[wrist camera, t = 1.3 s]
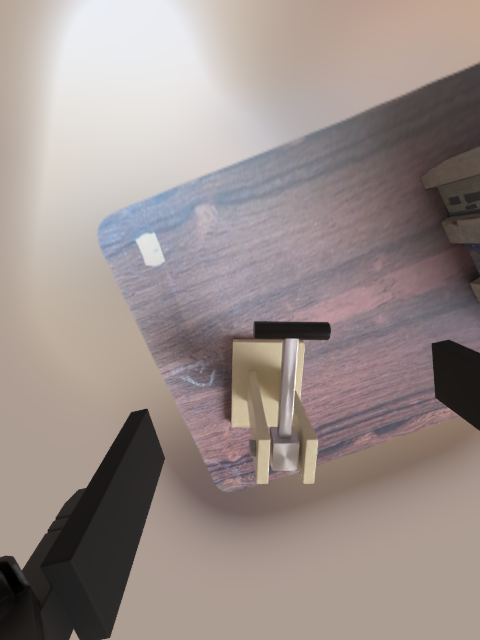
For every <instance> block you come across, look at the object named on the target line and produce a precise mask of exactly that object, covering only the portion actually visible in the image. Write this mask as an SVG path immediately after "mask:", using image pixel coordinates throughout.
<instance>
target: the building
mask: <svg viewBox="0 0 480 640" xmlns="http://www.w3.org/2000/svg"><path fill="white" fill-rule="evenodd" d="M420 179H421V181H422V183H423V185H424V187H425V189H429V188H432V187H437V188H438V190H439V192H440V194H441V197H442V199H443V201H444V203H445V205H446V207H447V210H448V212H449V213H448V215H449V216H450V217H449V218H447V219H446V220H444V221H443V222H441V223H442V225H443V228H444V230H445V232H446V234H447V236H448V238H449V240H450V242H451V243H465V244H466V246H467V248H468V250H469V252H470V254H471V257H472V259H473V261H474V263H475V265H476V268H477V270H478V272H479V274H480V146H479V147H476V148H474V149H471V150H469V151H466V152H463V153H461V154H458V155H456V156H453V157H451V158H449V159H447V160H446V161H444V162H443V163H441V164H440V165H438V166H437V167H435V168H434V169H433V170H431V171H430V172H428V173H427V174H425V175H424V176H422V177H421V178H420ZM470 285H471V287H472V289H473V291H474V293H475V295H476V298H477V300H478V302H480V277H479V278H477V279H476V280H474V281H472V282H471V283H470Z"/></svg>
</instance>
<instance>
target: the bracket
mask: <svg viewBox="0 0 480 640" xmlns="http://www.w3.org/2000/svg"><path fill="white" fill-rule="evenodd" d="M282 344H283V340H263V339H233V351H232V409H231V427H250V431H251V440H250V442H249V452H250V457H253V458H254V467H255V476H256V483H257V484H267V483H268V471H269V453H270V436H269V432H268V427H277V425H278V409H279V393H280V377H281V361H282ZM304 348H305V342H304V341H303V340H299V341H298V355H297V368H296V381H295V394H294V407H293V421H292V427H294V430H295V433H296V435H297V438H298V441H299V453H298V465H297V466H298V469H299V473H300V476H301V479H302V482H303V483H304V484H305V483H314V477H315V467H316V457H317V456H318V438H317V436H316V434H315V431H314V429H313V427H312V425H311V423H310V420H309V418H308V416H307V414H306V412H305V409H304V407H303V405H302V403H301V401H300V397H301V385H302V372H303V360H304Z"/></svg>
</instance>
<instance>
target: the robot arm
mask: <svg viewBox="0 0 480 640" xmlns="http://www.w3.org/2000/svg"><path fill="white" fill-rule="evenodd" d="M432 355H433V370H434V384H435V398H436V399H438V400H439V401H441V402H442V403H443V404H445V405H446V406H447V407H449V408H450V409H451V410H453V411H454V412H455V413H457V414H458V415H459V416H461V417H462V418H463V419H465V420H466V421H467V422H469V423H470V424H471V425H473V426H474V427H475V428H477V429H478V430H480V353H478V352H476V351H474V350H471V349H469V348H467V347H464V346H462V345H460V344H458V343H455V342H453V341H451V340H445V341H441V342H436V343H432ZM164 460H165V457H164V454H163V451H162V448H161V446H160V443H159V440H158V437H157V435H156V432H155V429H154V426H153V423H152V420H151V418H150V415H149V412H148V409H144V410H139V411H135V412H132V413H131V414H130V415H129V417H128V419H127V420H126V422H125V424H124V426H123V427H122V429H121V431H120V432H119V434H118V436H117V438H116V439H115V441H114V442H113V444H112V446H111V447H110V449H109V451H108V453H107V454H106V456H105V458H104V460H103V461H102V463H101V464H100V466H99V468H98V469H97V471H96V473H95V474H94V476H93V478H92V480H91V481H90V483H89V485H88V486H87V488H84V489H79V490H78V491H77V492H76V493H75V494H74V495H73V496H72V497H71V498H70V499H69V500H68V501H67V502H66V503H65V504H64V506H63V507H62V509H61V510H60V512H59V514H58V515H57V517H56V520H55V521H53V523H52V524H51V526H50V527H49V529H48V533H47V534H45V535H44V537H43V538H42V540H41V542H40V543H39V545H38V546H37V548H36V549H35V551H34V552H33V554H32V556H31V557H30V559H29V560H28V562H27V563H26V565H25V567H24V568H23V570H21V569H20V567H19V565H18V564H17V562H16V560H15V559H14V557H13V556H3V557H0V640H69V639H70V636H71V634H72V631H73V629H74V630H75V632H76V634H77V636H78V637H79V639H80V640H102V639H107V638H110V636H111V632H112V629H113V626H114V623H115V620H116V617H117V613H118V610H119V607H120V604H121V600H122V597H123V593H124V590H125V587H126V584H127V581H128V577H129V574H130V571H131V568H132V564H133V561H134V558H135V555H136V551H137V548H138V544H139V542H140V538H141V535H142V532H143V528H144V525H145V522H146V519H147V515H148V512H149V509H150V505H151V502H152V499H153V496H154V492H155V489H156V486H157V483H158V479H159V476H160V473H161V469H162V466H163V463H164Z"/></svg>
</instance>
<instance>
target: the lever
mask: <svg viewBox="0 0 480 640" xmlns="http://www.w3.org/2000/svg"><path fill="white" fill-rule="evenodd" d="M330 334H331V328H330V324H329V323H328V322H270V321H255V322H254V327H253V335H254V339H279V340H283V344H282V361H281V377H280V393H279V409H278V425H277V427H270V453H269V457H270V462H271V467H272V471H297V465H298V453H299V441H298V438H297V435H296V433H295V430H294V427H292V421H293V407H294V394H295V381H296V368H297V355H298V341H299V340H328V339H329V338H330Z"/></svg>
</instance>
